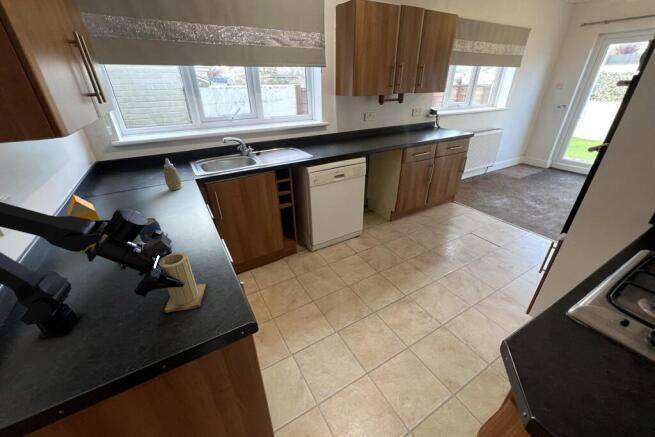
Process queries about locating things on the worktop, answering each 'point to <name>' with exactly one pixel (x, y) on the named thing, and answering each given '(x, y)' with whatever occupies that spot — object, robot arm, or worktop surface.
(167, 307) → the stand
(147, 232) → the soda can
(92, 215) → the orange juice
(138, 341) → the worktop surface
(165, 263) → the cream hollow cylinder
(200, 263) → the worktop surface
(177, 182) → the squeeze bottle
